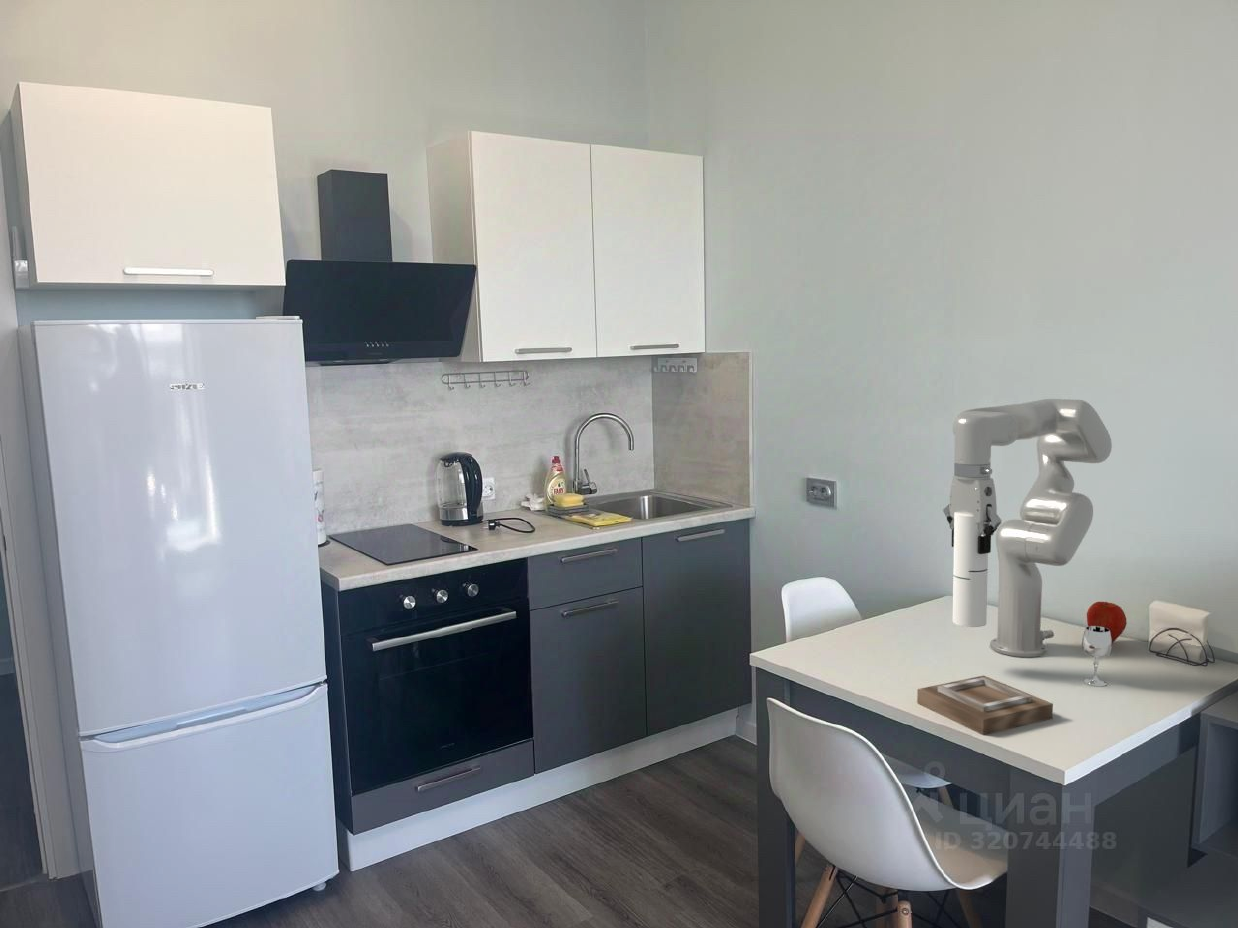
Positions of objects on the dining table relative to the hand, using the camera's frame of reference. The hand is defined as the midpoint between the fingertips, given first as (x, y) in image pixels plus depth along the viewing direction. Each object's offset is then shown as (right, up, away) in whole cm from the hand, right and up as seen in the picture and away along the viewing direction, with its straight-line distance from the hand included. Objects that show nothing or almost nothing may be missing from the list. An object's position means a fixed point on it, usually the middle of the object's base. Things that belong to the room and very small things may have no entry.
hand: (970, 549), depth 209 cm
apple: (+40, -25, +19) cm, 51 cm away
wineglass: (+25, -29, -6) cm, 38 cm away
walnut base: (-5, -31, -20) cm, 37 cm away
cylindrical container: (+1, -17, +2) cm, 17 cm away
